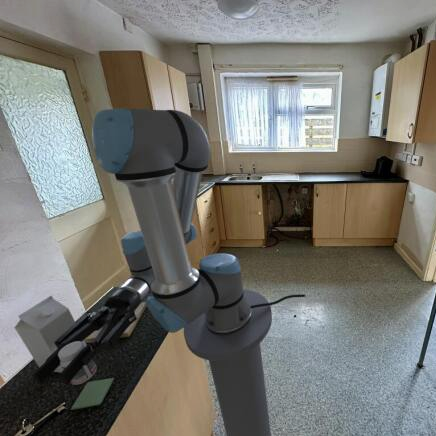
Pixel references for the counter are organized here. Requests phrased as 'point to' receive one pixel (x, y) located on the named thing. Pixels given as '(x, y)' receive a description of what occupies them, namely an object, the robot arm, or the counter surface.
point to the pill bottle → (69, 354)
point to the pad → (93, 393)
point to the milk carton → (44, 328)
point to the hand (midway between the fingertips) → (50, 379)
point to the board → (128, 331)
